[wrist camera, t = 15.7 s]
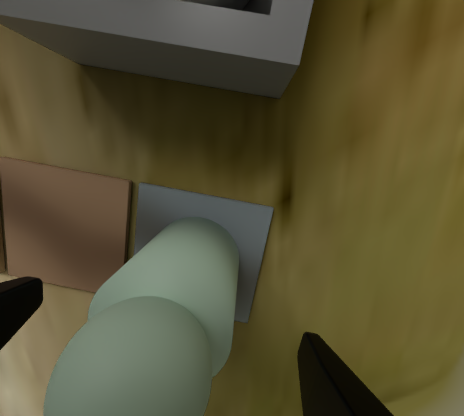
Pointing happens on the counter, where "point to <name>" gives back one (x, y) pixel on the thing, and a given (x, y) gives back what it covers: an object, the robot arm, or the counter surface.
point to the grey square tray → (173, 38)
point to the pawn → (154, 330)
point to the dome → (222, 3)
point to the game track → (109, 225)
